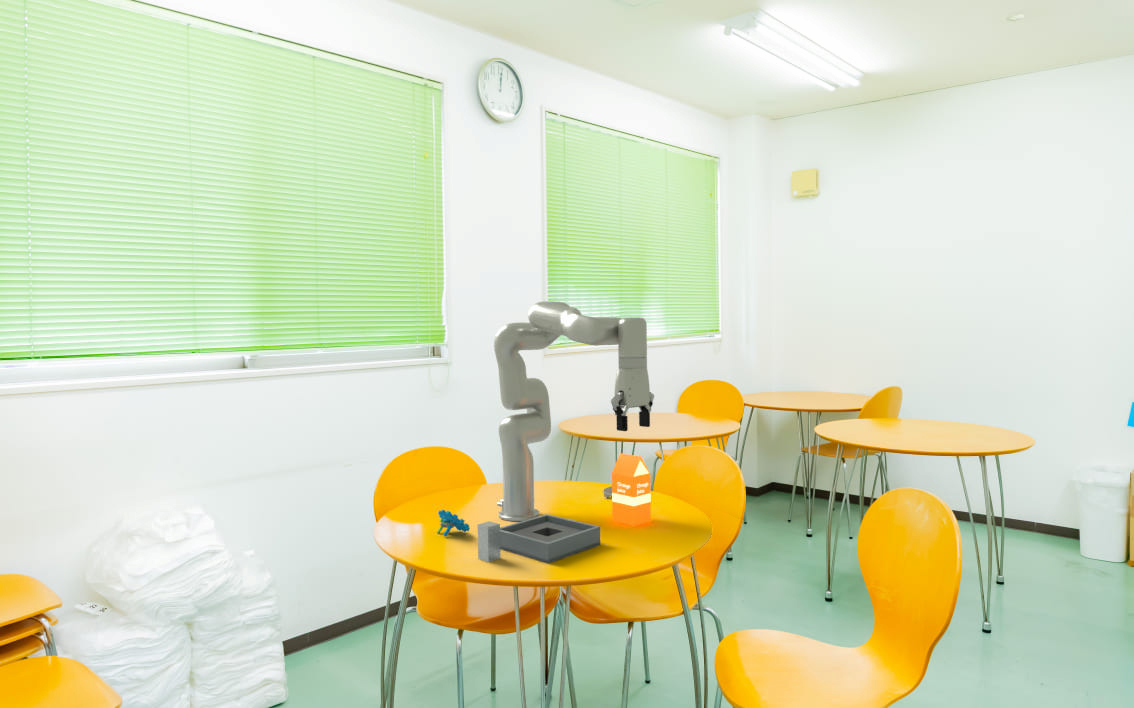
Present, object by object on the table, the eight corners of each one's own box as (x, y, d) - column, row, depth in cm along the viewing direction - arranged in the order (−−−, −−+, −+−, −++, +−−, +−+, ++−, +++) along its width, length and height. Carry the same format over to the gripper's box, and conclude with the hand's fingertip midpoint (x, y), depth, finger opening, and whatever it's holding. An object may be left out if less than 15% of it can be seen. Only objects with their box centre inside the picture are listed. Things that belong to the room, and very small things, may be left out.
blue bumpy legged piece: (477, 528, 199) (452, 507, 195) (466, 546, 196) (440, 526, 192) (457, 527, 208) (432, 507, 204) (446, 544, 204) (421, 525, 201)
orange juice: (629, 516, 219) (628, 451, 218) (651, 521, 212) (650, 455, 211) (611, 521, 213) (611, 454, 212) (633, 526, 207) (633, 458, 206)
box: (494, 548, 189) (494, 529, 188) (547, 531, 203) (546, 514, 203) (548, 564, 175) (547, 544, 175) (600, 545, 190) (600, 526, 190)
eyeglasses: (630, 493, 250) (629, 482, 250) (647, 497, 244) (647, 485, 244) (602, 500, 241) (602, 488, 240) (619, 504, 235) (619, 492, 235)
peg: (478, 559, 179) (477, 524, 179) (490, 555, 182) (489, 521, 182) (488, 563, 177) (487, 527, 176) (500, 559, 180) (499, 524, 179)
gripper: (641, 362, 196) (641, 423, 197) (600, 365, 184) (601, 431, 184) (663, 363, 191) (664, 426, 192) (623, 366, 179) (624, 433, 179)
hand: (633, 428), depth 188 cm, fingers open, 9 cm apart
